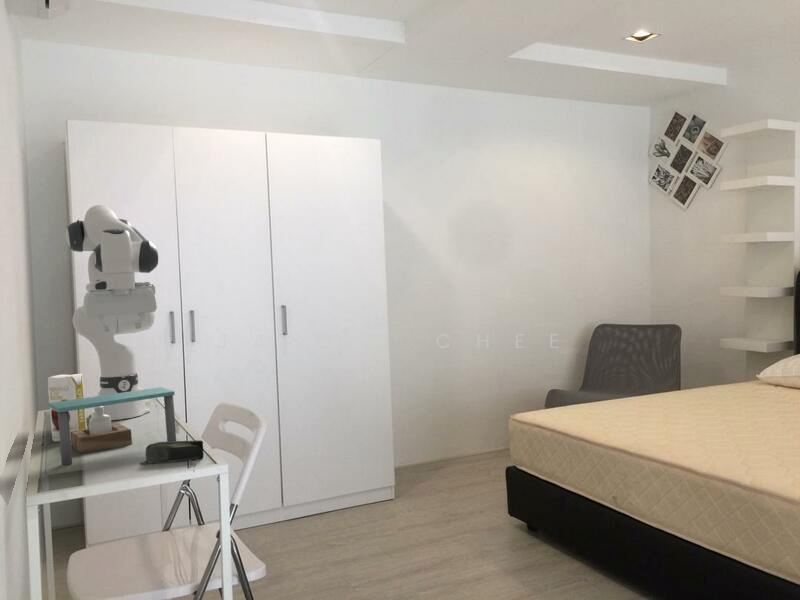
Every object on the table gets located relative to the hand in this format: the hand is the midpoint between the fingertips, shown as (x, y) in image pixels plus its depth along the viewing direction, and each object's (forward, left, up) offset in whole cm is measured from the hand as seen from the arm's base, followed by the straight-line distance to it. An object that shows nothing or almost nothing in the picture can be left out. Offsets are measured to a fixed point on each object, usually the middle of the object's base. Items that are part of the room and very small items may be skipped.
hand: (122, 330), depth 205 cm
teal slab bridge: (+19, -9, -31) cm, 38 cm away
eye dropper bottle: (+8, -10, -31) cm, 34 cm away
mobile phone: (+43, -2, -32) cm, 53 cm away
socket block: (+8, -10, -31) cm, 34 cm away
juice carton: (-8, -15, -31) cm, 36 cm away
